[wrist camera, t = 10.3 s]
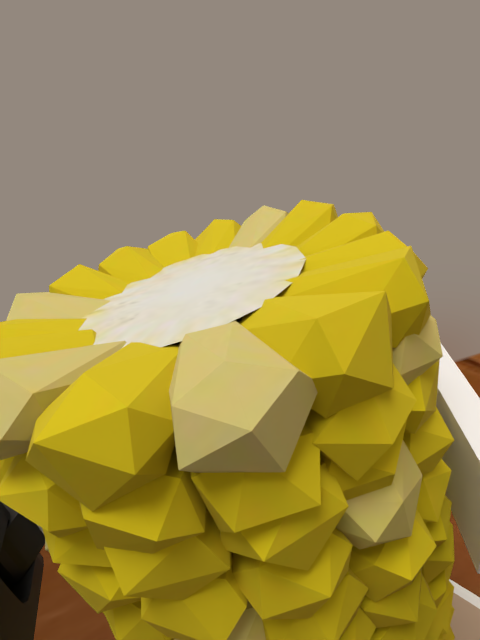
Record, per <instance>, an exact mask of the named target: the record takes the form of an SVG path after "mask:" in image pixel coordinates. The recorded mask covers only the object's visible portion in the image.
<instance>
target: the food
mask: <svg viewBox="0 0 480 640" xmlns="http://www.w3.org/2000/svg"><path fill="white" fill-rule="evenodd" d="M427 269H428V268H427V267H426V266H425V265H424V264H423V262H422V261H421V260H420V259H419V258H418V257H417V255H415V253H414V252H413V250H412V247H411V246H409V247H407V246H406V245H405V244H404V243H402V242H401V241H400V240H399V239H398V238H397V237H395V236H394V235H393V234H392V233H391V232H389V231H386V232H384V231H383V229H382V228H381V226H380V224H379V223H378V221H377V220H376V218H375V217H374V215H373V214H372V212H365V213H348V214H347V213H346V214H342V215H341V216H339V217H338V216H337V213H336V210H335V207H334V205H333V204H327V203H320V202H311V201H305V200H301V201H300V202H299V203H298V205H296V207H294V209H293V210H292V211H291V212H290V213H287V212H286V211H282V210H278V209H274V208H271V207H267V206H263V207H261V208H260V209H259V210H257V211H256V212H255V213H254V214H252V215H251V216H250V217H249V218H247V219H246V220H245V221H244V223H243V225H242V226H240V225H239V224H238V223H237V222H235V221H234V220H217V219H215V220H213V222H212V223H211V224H210V225H209V226H208V227H207V228H206V229H205V230H204V231H203V232H202V233H201V234H200V235H199V236H198V237H197V238H196V239H195V240H194V239H193V238H192V237H191V236H190V235H189V234H188V233H187V232H186V231H181V232H175V233H171V234H169V235H167V236H166V237H164V238H162V239H160V240H158V241H157V242H155V243H153V244H151V245H149V246H148V249H144V248H136V247H129V246H126V247H123V248H119V249H117V250H116V251H115V252H114V253H112V254H111V255H110V256H109V257H108V258H106V259H105V260H104V261H103V262H101V263H100V264H99V271H97V270H94V269H91V268H88V267H86V266H83V265H80V264H79V265H78V266H76V267H75V268H73V269H72V270H71V271H69V272H68V273H66V274H65V275H64V276H62V277H61V278H59V279H58V280H57V281H55V282H54V283H52V284H51V285H50V286H49V292H41V293H22V294H16V297H15V299H14V302H13V304H12V307H11V310H10V312H9V315H8V318H7V320H6V321H3V322H0V501H1V502H2V503H4V504H5V505H7V506H9V507H10V508H12V509H13V510H15V511H16V512H18V513H20V514H21V515H23V516H24V517H25V518H27V519H29V520H31V521H32V522H34V523H35V524H37V525H38V526H40V527H42V530H43V533H44V536H45V550H46V551H48V552H50V555H51V558H52V561H53V563H61V565H60V567H59V569H58V572H59V573H60V575H61V576H62V577H63V578H64V579H65V580H66V581H67V582H68V583H69V584H70V585H71V586H72V587H73V588H74V589H75V590H76V591H77V592H78V593H79V594H80V595H81V596H82V598H83V599H84V600H85V601H86V602H87V603H88V604H89V605H90V606H91V607H92V608H93V609H94V610H95V611H96V612H97V613H101V612H103V613H104V615H105V616H106V618H107V620H108V623H109V625H110V627H111V630H112V632H113V634H114V637H115V639H116V640H454V639H455V636H454V633H453V631H452V629H451V626H450V623H451V620H452V616H453V613H454V610H455V609H454V607H453V606H452V600H453V593H454V586H453V585H452V584H451V582H450V581H449V579H450V575H451V571H452V567H453V564H454V560H455V559H454V540H453V525H452V524H451V523H450V514H451V506H452V502H451V501H450V500H449V499H448V498H447V497H446V496H445V493H446V490H447V486H448V482H449V478H450V475H451V471H452V470H451V469H450V468H449V467H448V466H447V464H446V463H445V462H444V461H443V460H442V457H443V456H444V454H445V453H446V452H447V450H448V449H449V447H450V446H451V445H452V443H453V442H454V438H453V436H452V435H451V433H450V431H449V429H448V427H447V425H446V423H445V422H444V420H443V418H442V416H441V414H440V412H439V410H438V409H437V407H436V402H437V389H438V375H439V362H440V358H442V357H443V354H442V349H441V343H440V338H439V334H438V328H437V323H436V320H435V319H434V318H433V317H432V316H431V315H430V307H429V306H430V305H429V300H428V296H427V293H426V290H425V287H424V284H423V281H422V278H423V276H424V275H425V273H426V271H427Z"/></svg>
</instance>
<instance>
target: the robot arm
mask: <svg viewBox="0 0 480 640" xmlns="http://www.w3.org/2000/svg"><path fill="white" fill-rule="evenodd" d="M441 349H442V354H443V357H442V358H440V362H439V375H438V389H437V402H436V407H437V409H438V410H439V412H440V414H441V416H442V418H443V420H444V422H445V423H446V425H447V427H448V429H449V431H450V433H451V435H452V436H453V438H454V442H453V443H452V445H451V446H450V447H449V449H448V450H447V452H446V453H445V454H444V456H443V457H442V460H443V461H444V462H445V463H446V464H447V466H448V467H449V468H450V469H451V470H452V471H451V475H450V478H449V482H448V486H447V490H446V493H445V496H446V497H447V498H448V499H449V500H450V501H451V502H452V506H451V511H452V513H453V516H454V518H455V521H456V523H457V525H458V528H459V530H460V533H461V535H462V537H463V540H464V542H465V545H466V547H467V549H468V552H469V554H470V557H471V559H472V561H473V564H474V566H475V569H476V571H477V573H480V398H479V397H478V395H477V394H476V393H475V391H474V390H473V388H472V387H471V385H470V384H469V383H468V381H467V380H466V378H465V377H464V376H463V374H462V373H461V371H460V370H459V368H458V367H457V366H456V364H455V363H454V361H453V360H452V358H451V357H450V356H449V354H448V353H447V351H446V350H445V349H444V347H443V346H442V345H441ZM44 544H45V536H44V533H43V530H42V527H40V526H38V525H37V524H35V523H34V522H32V521H31V520H29V519H27V518H25V517H24V516H23V515H21V514H20V513H18V512H16V511H15V510H13V509H12V508H10V507H9V506H7V505H5V504H4V503H2V502H1V501H0V640H33V639H34V631H35V624H36V617H37V610H38V602H39V595H40V588H41V581H42V573H43V566H44V563H43V557H42V556H41V554H40V553H39V552H40V551H41V549H42V547H43V546H44Z"/></svg>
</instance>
